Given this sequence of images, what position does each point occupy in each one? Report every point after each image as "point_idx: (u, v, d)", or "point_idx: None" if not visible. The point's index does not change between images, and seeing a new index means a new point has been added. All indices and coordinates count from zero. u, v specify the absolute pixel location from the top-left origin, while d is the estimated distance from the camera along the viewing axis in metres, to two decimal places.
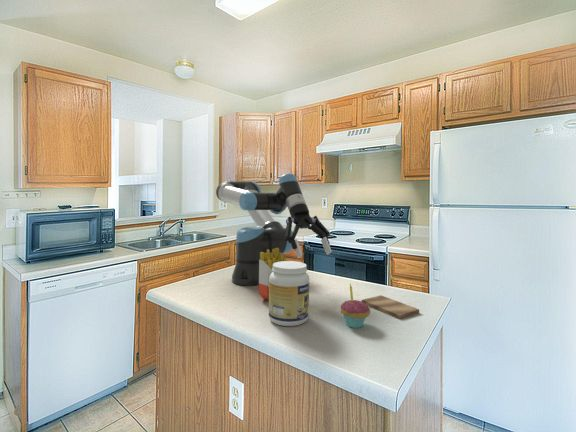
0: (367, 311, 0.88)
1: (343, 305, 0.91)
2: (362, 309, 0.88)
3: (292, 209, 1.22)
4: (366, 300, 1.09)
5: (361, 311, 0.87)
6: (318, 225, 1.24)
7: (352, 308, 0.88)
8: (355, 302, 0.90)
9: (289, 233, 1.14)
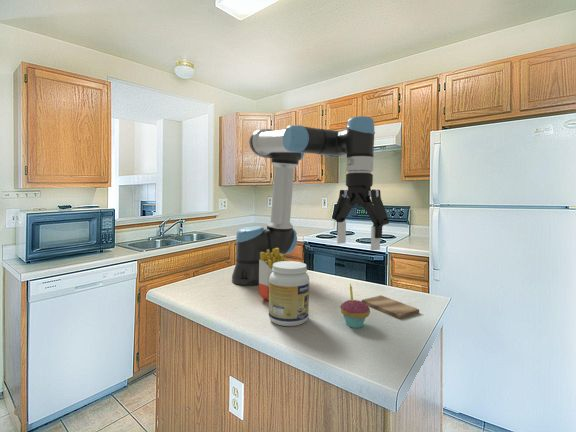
0: (367, 311, 0.88)
1: (343, 305, 0.91)
2: (362, 309, 0.88)
3: None
4: (366, 300, 1.09)
5: (361, 311, 0.87)
6: None
7: (352, 308, 0.88)
8: (355, 302, 0.90)
9: (334, 214, 0.96)
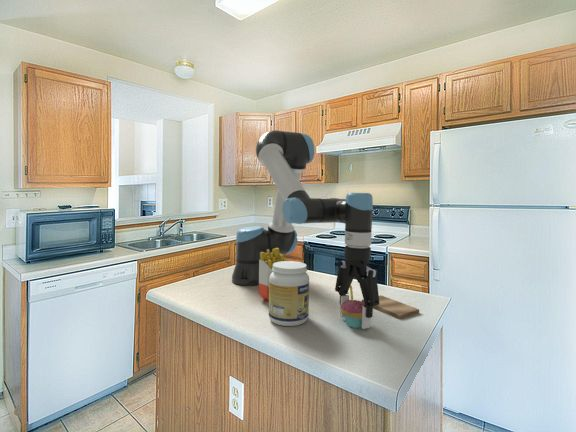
0: None
1: (343, 305, 0.91)
2: None
3: None
4: None
5: (361, 311, 0.87)
6: None
7: (352, 308, 0.88)
8: (355, 302, 0.90)
9: (336, 286, 0.96)
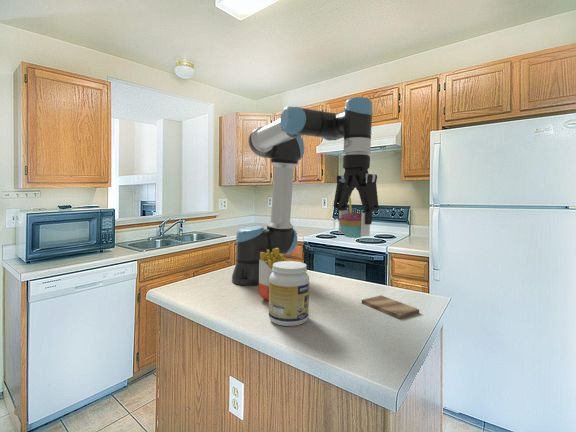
0: None
1: (342, 216, 0.89)
2: None
3: None
4: (366, 300, 1.09)
5: (360, 219, 0.86)
6: None
7: (351, 217, 0.86)
8: (354, 213, 0.88)
9: (335, 201, 0.94)
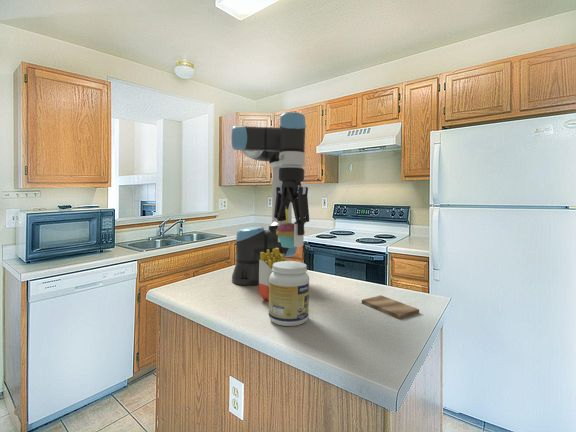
0: None
1: (278, 227, 0.92)
2: None
3: None
4: (366, 300, 1.09)
5: (293, 230, 0.88)
6: None
7: (285, 227, 0.89)
8: (289, 223, 0.91)
9: (275, 212, 0.97)
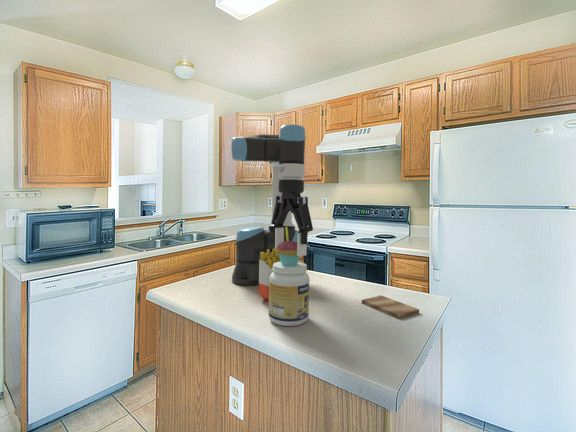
0: None
1: (278, 245, 0.92)
2: (294, 247, 0.89)
3: None
4: (366, 300, 1.09)
5: (293, 249, 0.89)
6: None
7: (285, 246, 0.89)
8: (289, 242, 0.92)
9: (272, 219, 0.99)
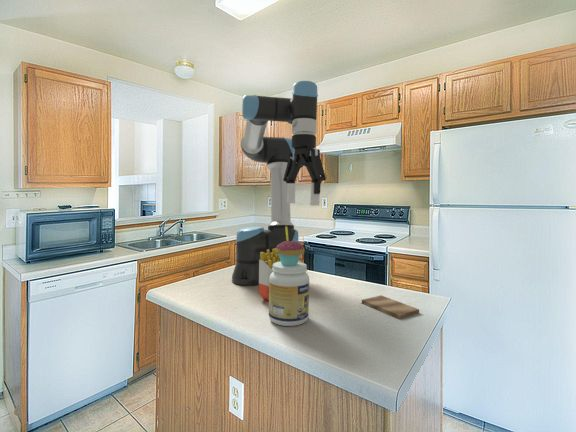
0: (300, 249, 0.90)
1: (278, 245, 0.92)
2: (294, 247, 0.89)
3: None
4: (366, 300, 1.09)
5: (293, 249, 0.89)
6: None
7: (285, 246, 0.89)
8: (289, 241, 0.92)
9: (285, 176, 1.03)
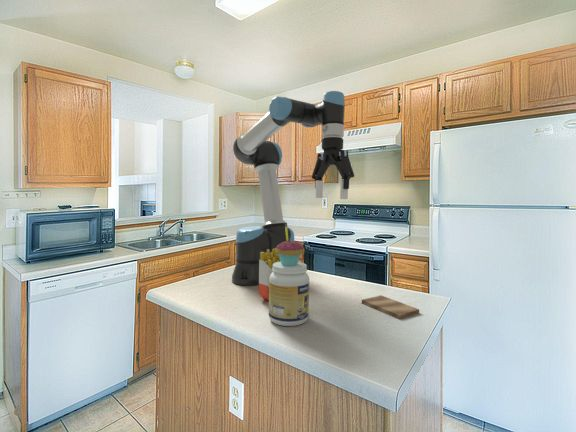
0: (300, 249, 0.90)
1: (278, 245, 0.92)
2: (294, 247, 0.89)
3: None
4: (366, 300, 1.09)
5: (293, 249, 0.89)
6: None
7: (285, 246, 0.89)
8: (289, 242, 0.92)
9: (313, 174, 1.16)
